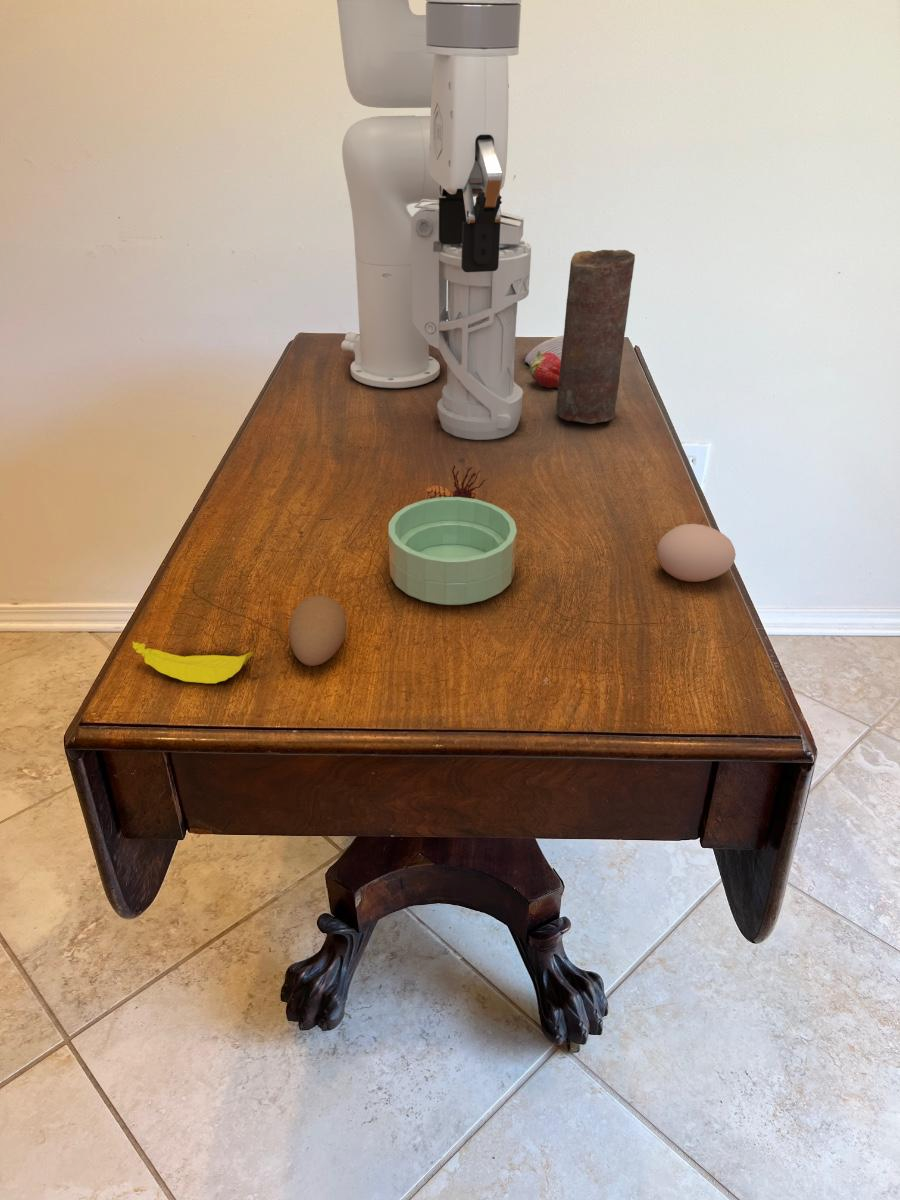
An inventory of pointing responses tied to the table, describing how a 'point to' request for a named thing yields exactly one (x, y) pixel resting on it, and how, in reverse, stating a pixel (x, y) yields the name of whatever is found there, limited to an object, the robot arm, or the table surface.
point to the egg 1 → (317, 629)
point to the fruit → (546, 370)
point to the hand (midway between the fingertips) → (466, 256)
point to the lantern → (471, 324)
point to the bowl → (452, 550)
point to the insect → (460, 492)
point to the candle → (594, 334)
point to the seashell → (546, 349)
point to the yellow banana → (193, 665)
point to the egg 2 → (695, 552)
